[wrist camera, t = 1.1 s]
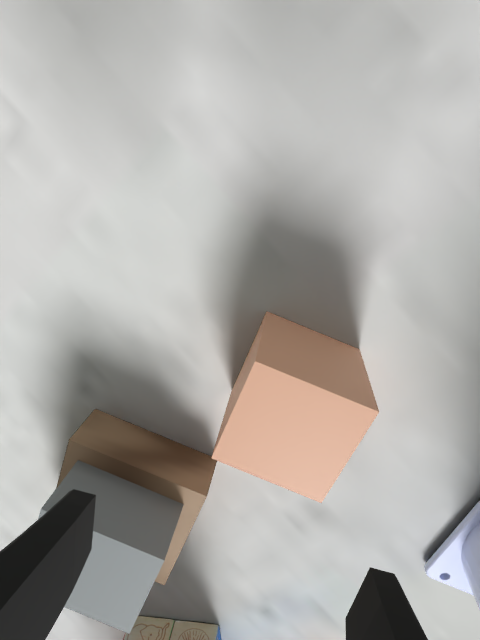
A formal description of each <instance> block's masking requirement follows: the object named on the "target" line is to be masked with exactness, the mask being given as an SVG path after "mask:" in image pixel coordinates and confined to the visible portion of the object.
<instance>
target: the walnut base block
mask: <svg viewBox="0 0 480 640" xmlns="http://www.w3.org/2000/svg"><path fill="white" fill-rule="evenodd" d="M211 457H212V456H209V455H207V454H204V453H202V452H199V451H197V450H195V449H192V448H190V447H187V446H185V445H182V444H180V443H177V442H175V441H173V440H170V439H168V438H165V437H163V436H160V435H158V434H156V433H153V432H151V431H148V430H146V429H143V428H141V427H138V426H136V425H134V424H131V423H129V422H126V421H124V420H121V419H119V418H117V417H114V416H112V415H109V414H107V413H104V412H102V411H99V410H97V409H94V411H93V412H92V413H91V414H90V415H89V417H88V418H87V419H86V420H85V421H84V423H83V424H82V425H81V426H80V427H79V429H78V430H77V431H76V432H75V433H74V435H73V436H72V437H71V438H70V439H69V442H68V446H67V450H66V453H65V457H64V461H63V465H62V469H61V472H60V476H59V480H58V484H57V487H58V486H59V485H60V483H61V482H62V481H63V479H64V478H65V477H66V475H67V474H68V473H69V471H70V470H71V469H72V467H73V466H74V465H75V463H76V462H77V461H78V460H79V461H82V462H84V463H87V464H89V465H91V466H94V467H96V468H98V469H101V470H103V471H106V472H108V473H110V474H113V475H115V476H118V477H120V478H122V479H125V480H127V481H129V482H132V483H134V484H137V485H139V486H141V487H144V488H146V489H149V490H151V491H153V492H156V493H158V494H160V495H163V496H165V497H168V498H170V499H172V500H175V501H177V502H180V503H182V504H184V505H183V508H182V511H181V514H180V517H179V520H178V523H177V526H176V529H175V531H174V534H173V537H172V540H171V543H170V546H169V549H168V552H167V555H166V558H165V561H164V563H163V565H162V567H161V569H160V571H159V573H158V575H157V577H156V579H155V582H158V583H160V584H163V585H165V583H166V581H167V579H168V577H169V575H170V573H171V570H172V568H173V566H174V564H175V562H176V560H177V558H178V556H179V554H180V552H181V549H182V547H183V545H184V543H185V541H186V539H187V537H188V535H189V533H190V531H191V528H192V526H193V524H194V522H195V520H196V518H197V516H198V514H199V512H200V510H201V507H202V505H203V503H204V501H205V499H206V497H207V494H208V490H209V487H210V483H211V480H212V476H213V473H214V469H215V466H216V462H217V460H215V459H212V458H211ZM57 487H56V489H57Z"/></svg>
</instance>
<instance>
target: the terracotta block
mask: <svg viewBox="0 0 480 640" xmlns="http://www.w3.org/2000/svg"><path fill="white" fill-rule="evenodd" d="M378 413H379V410H378V407H377V404H376V400H375V397H374V394H373V391H372V388H371V385H370V381H369V378H368V375H367V372H366V369H365V365H364V362H363V359H362V356H361V353H360V350H359V349H357V348H355V347H353V346H350V345H348V344H345V343H343V342H340V341H338V340H335V339H333V338H331V337H328V336H326V335H323V334H321V333H318V332H316V331H314V330H311V329H309V328H306V327H304V326H301V325H299V324H297V323H294V322H292V321H289V320H287V319H284V318H282V317H279V316H277V315H275V314H272V313H270V312H266V314H265V316H264V318H263V321H262V323H261V325H260V327H259V330H258V332H257V334H256V337H255V339H254V341H253V343H252V346H251V348H250V350H249V352H248V355H247V357H246V359H245V362H244V364H243V366H242V368H241V371H240V373H239V375H238V377H237V380H236V382H235V384H234V387H233V389H232V391H231V395H230V398H229V401H228V405H227V408H226V411H225V415H224V418H223V421H222V424H221V428H220V431H219V434H218V438H217V441H216V444H215V448H214V451H213V454H212V457H211V458H212V459H215V460H217V461H219V462H222V463H224V464H227V465H229V466H232V467H234V468H237V469H239V470H242V471H244V472H246V473H249V474H251V475H254V476H256V477H259V478H261V479H264V480H266V481H269V482H271V483H273V484H276V485H278V486H281V487H283V488H286V489H288V490H291V491H293V492H296V493H298V494H301V495H303V496H305V497H308V498H310V499H313V500H315V501H318V502H320V503H322V501H323V500H324V498H325V496H326V495H327V493H328V492H329V490H330V489H331V487H332V485H333V484H334V482H335V481H336V479H337V478H338V476H339V474H340V473H341V471H342V470H343V468H344V467H345V465H346V463H347V462H348V460H349V459H350V457H351V455H352V454H353V452H354V451H355V449H356V448H357V446H358V444H359V443H360V441H361V440H362V438H363V437H364V435H365V433H366V432H367V430H368V429H369V427H370V426H371V424H372V422H373V421H374V419H375V418H376V416H377V415H378Z"/></svg>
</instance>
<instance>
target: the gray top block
mask: <svg viewBox="0 0 480 640" xmlns="http://www.w3.org/2000/svg"><path fill="white" fill-rule="evenodd" d="M73 489H75V490H79V491H83V492H87V493H91V494H94V495H96V502H95V514H94V526H93V538H92V549H91V552H90V554H89V556H88V558H87V561H86V563H85V565H84V567H83V570H82V572H81V574H80V576H79V578H78V581H77V583H76V585H75V587H74V589H73V591H72V593H71V595H70V597H69V599H68V600H67V602H66V604H65V606H64V607H65V608H68V609H70V610H73V611H75V612H77V613H80V614H82V615H85V616H87V617H89V618H92V619H94V620H97V621H99V622H102V623H104V624H106V625H109V626H111V627H114V628H116V629H118V630H121V631H123V632H126V633H128V634H130V632H131V630H132V628H133V626H134V623H135V621H136V619H137V617H138V615H139V613H140V611H141V609H142V607H143V605H144V603H145V600H146V598H147V596H148V594H149V592H150V590H151V588H152V586H153V584H154V582H155V579H156V577H157V575H158V573H159V571H160V569H161V567H162V565H163V563H164V561H165V558H166V555H167V552H168V549H169V546H170V543H171V540H172V537H173V534H174V531H175V529H176V526H177V523H178V520H179V517H180V514H181V511H182V508H183V505H184V504H182V503H180V502H177V501H175V500H172V499H170V498H168V497H165V496H163V495H160V494H158V493H156V492H153V491H151V490H149V489H146V488H144V487H141V486H139V485H137V484H134V483H132V482H129V481H127V480H125V479H122V478H120V477H118V476H115V475H113V474H110V473H108V472H106V471H103V470H101V469H98V468H96V467H94V466H91V465H89V464H87V463H84V462H82V461H79V460H78V461H77V462H76V463H75V465H74V466H73V467H72V469H71V470H70V471H69V473H68V474H67V475H66V477H65V478H64V479H63V481H62V482H61V483H60V485H59V486H58V487H57V489H56V490H55V491H54V493H53V494H52V495H51V497H50V498H49V499H48V500H47V502H46V503H45V504H44V506H43V507H42V508H41V511H40V515H39V518H41V517H42V516H43V515H44V514H45V513H46V512H47V511H48V510H50V509H51V508H52V507H53V506H54V505H55V504H56V503H57V502H58V501H59V500H61V499H62V498H63V497H64V496H65V495H66V494H67V493H68V492H69V491H71V490H73Z"/></svg>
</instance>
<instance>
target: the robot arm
mask: <svg viewBox="0 0 480 640" xmlns="http://www.w3.org/2000/svg"><path fill="white" fill-rule="evenodd" d="M95 502H96V495H94V494H91V493H87V492H83V491H79V490H75V489H73V490H71V491H69V492H68V493H67V494H66V495H65V496H64V497H63V498H62V499H61V500H59V501H58V502H57V503H56V504H55V505H54V506H53V507H52V508H51V509H50V510H48V511H47V512H46V513H45V514H44V515H43V516H42V517H41V518H39V519H38V520H37V521H36V522H35V523H34V524H33V525H31V526H30V527H29V528H28V529H27V530H26V531H24V532H23V533H22V534H21V535H20V536H19V537H17V538H16V539H15V540H14V541H12V542H11V543H10V544H9V545H8V546H6V547H5V548H4V549H3V550H2V551H0V640H45V639H46V637H47V636H48V634H49V632H50V630H51V629H52V627H53V625H54V623H55V622H56V620H57V618H58V616H59V615H60V613H61V611H62V609H63V608H64V606H65V604H66V602H67V600H68V599H69V597H70V595H71V593H72V591H73V589H74V587H75V585H76V583H77V581H78V578H79V576H80V574H81V572H82V570H83V567H84V565H85V563H86V561H87V558H88V556H89V554H90V552H91V549H92V538H93V526H94V514H95ZM424 567H425V571H426V574H427V575H428V576H429V577H430V578H432V579H435V580H437V581H440V582H442V583H445V584H447V585H450V586H452V587H454V588H457V589H459V590H462V591H464V592H467V593H469V594H472V595H474V597H475V600H476V602H477V605H478V607H479V610H480V500H479V502H478V503H477V504H476V505H475V506H474V507H473V509H472V510H471V511H470V512H469V513H468V515H467V516H466V517H465V518H464V519H463V520H462V522H461V523H460V524H459V525H458V526H457V527H456V529H455V530H454V531H453V532H452V533H451V534H450V536H449V537H448V538H447V539H446V540H445V541H444V543H443V544H442V545H441V546H440V547H439V548H438V550H437V551H436V552H435V553H434V554H433V555H432V557H431V558H430V559H429V560H428V561H427V562H426V564H425V566H424ZM346 640H428V639H427V637H426V635H425V633H424V631H423V629H422V627H421V625H420V623H419V621H418V619H417V618H416V616H415V614H414V612H413V610H412V608H411V606H410V604H409V602H408V600H407V598H406V596H405V594H404V592H403V590H402V588H401V586H400V584H399V582H398V580H397V578H396V576H395V574H393V573H389V572H385V571H381V570H378V569H374V568H370V569H369V571H368V573H367V575H366V577H365V579H364V581H363V583H362V585H361V587H360V590H359V592H358V594H357V596H356V598H355V600H354V602H353V604H352V606H351V608H350V610H349V612H348V614H347V616H346Z"/></svg>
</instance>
